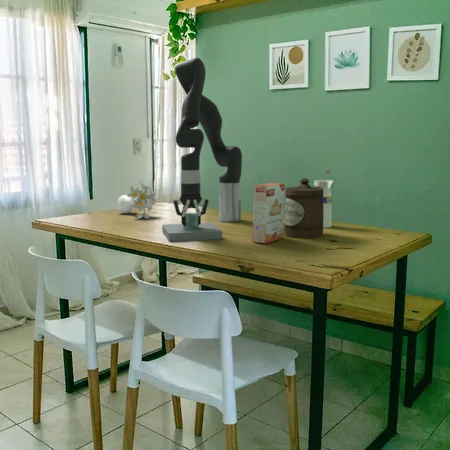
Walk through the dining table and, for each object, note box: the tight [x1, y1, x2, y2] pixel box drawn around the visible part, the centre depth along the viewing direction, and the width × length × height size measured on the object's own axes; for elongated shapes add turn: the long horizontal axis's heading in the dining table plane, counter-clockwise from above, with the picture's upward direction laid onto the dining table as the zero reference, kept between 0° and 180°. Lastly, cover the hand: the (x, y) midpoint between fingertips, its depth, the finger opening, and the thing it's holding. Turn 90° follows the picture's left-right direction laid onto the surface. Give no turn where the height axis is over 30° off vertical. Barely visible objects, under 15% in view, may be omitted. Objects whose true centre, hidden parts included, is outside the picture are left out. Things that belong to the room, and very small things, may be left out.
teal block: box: [184, 212, 198, 229], centre depth 215 cm, size 4×4×8 cm
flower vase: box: [116, 180, 157, 219], centre depth 266 cm, size 13×18×25 cm
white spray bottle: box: [313, 167, 334, 229], centre depth 234 cm, size 8×9×25 cm
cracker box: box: [252, 182, 286, 245], centre depth 204 cm, size 14×6×21 cm, turn 147°
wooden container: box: [284, 177, 324, 239], centre depth 215 cm, size 15×15×22 cm
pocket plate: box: [161, 222, 223, 242], centre depth 215 cm, size 20×20×3 cm
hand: (191, 225), depth 215 cm, fingers open, 4 cm apart
